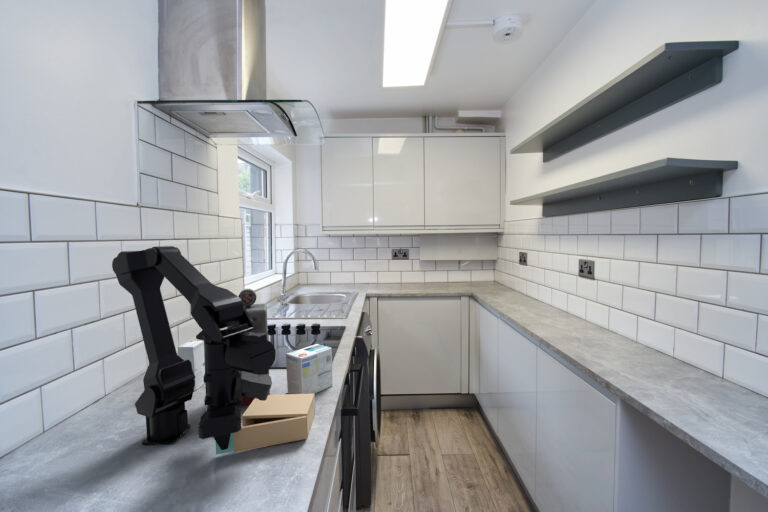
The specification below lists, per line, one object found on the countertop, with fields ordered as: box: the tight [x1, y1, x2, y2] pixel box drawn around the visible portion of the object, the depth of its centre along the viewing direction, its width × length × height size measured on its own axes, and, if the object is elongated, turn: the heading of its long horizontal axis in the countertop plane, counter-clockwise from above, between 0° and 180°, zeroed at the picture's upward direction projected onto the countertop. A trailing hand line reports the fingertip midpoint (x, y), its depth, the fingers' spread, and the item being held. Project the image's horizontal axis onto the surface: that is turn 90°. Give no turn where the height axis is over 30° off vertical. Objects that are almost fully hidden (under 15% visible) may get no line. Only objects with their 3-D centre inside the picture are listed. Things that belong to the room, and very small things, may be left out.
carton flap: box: [214, 416, 307, 456], centre depth 66 cm, size 16×1×4 cm, turn 108°
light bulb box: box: [285, 343, 333, 394], centre depth 91 cm, size 11×7×11 cm, turn 141°
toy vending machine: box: [226, 288, 271, 409], centre depth 86 cm, size 9×11×28 cm
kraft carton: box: [241, 393, 316, 438], centre depth 73 cm, size 13×9×5 cm
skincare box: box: [177, 340, 205, 392], centre depth 94 cm, size 6×4×12 cm
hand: (225, 445), depth 64 cm, fingers closed
